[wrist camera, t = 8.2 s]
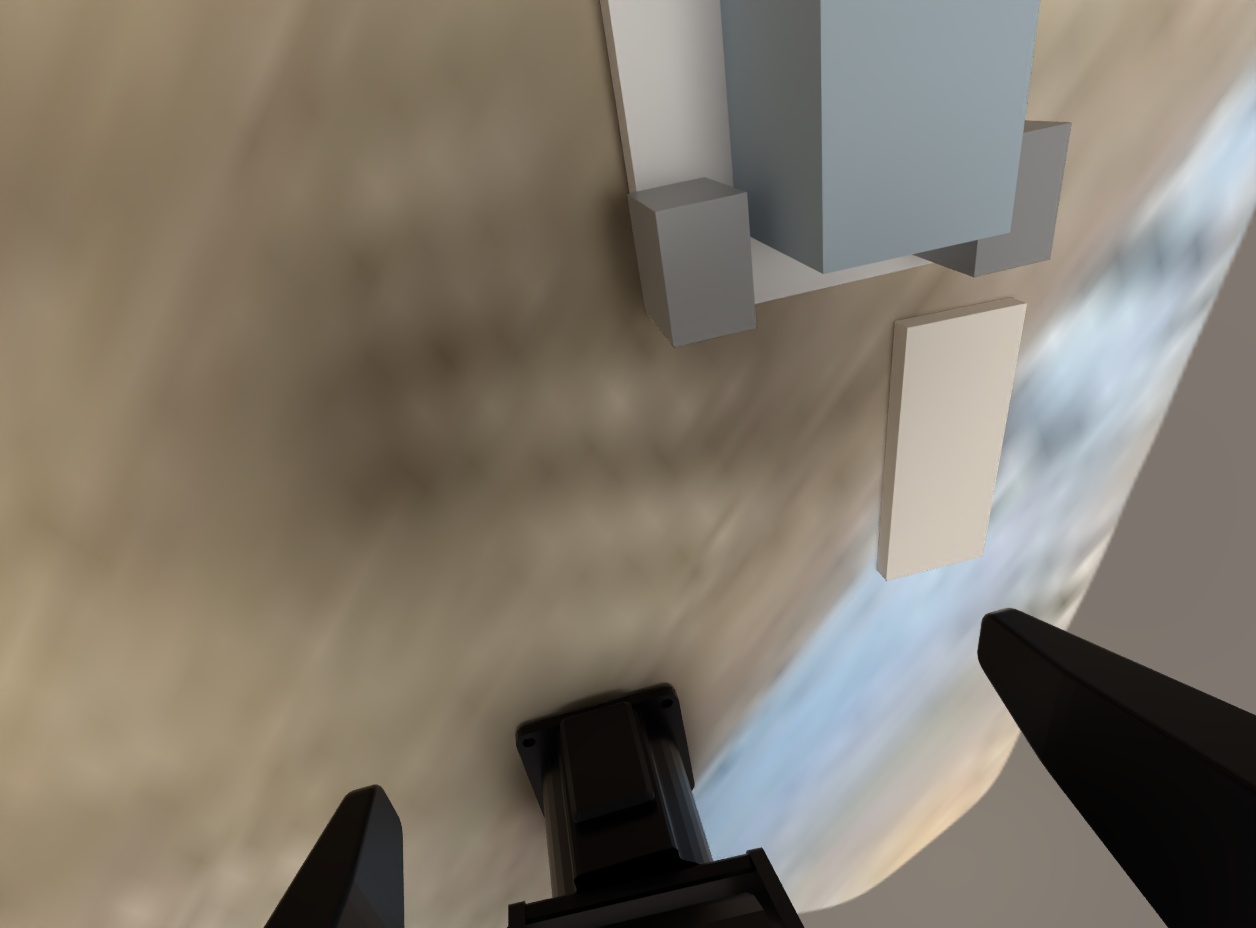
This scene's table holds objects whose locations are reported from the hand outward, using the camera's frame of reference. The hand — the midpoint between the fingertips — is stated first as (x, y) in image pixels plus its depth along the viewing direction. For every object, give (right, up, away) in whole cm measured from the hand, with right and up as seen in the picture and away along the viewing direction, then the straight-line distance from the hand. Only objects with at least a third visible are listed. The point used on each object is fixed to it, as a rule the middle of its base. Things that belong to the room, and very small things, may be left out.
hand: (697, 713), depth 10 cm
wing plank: (+10, +4, +14) cm, 18 cm away
